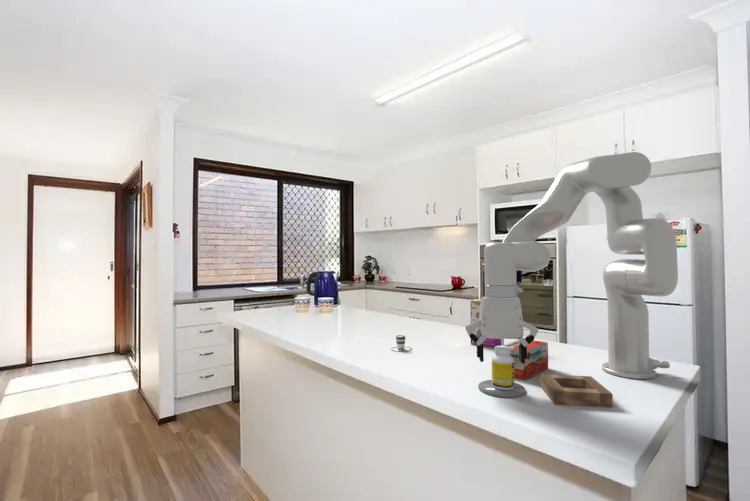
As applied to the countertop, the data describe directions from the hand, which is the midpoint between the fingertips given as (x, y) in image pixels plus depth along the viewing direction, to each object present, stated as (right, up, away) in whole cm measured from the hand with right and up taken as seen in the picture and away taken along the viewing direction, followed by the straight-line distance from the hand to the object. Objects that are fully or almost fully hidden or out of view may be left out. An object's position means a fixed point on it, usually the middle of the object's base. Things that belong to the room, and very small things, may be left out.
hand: (501, 361), depth 95 cm
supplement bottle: (0, -7, 0) cm, 7 cm away
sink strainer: (-22, -8, +41) cm, 47 cm away
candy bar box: (+10, -8, +46) cm, 48 cm away
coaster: (0, -7, 0) cm, 7 cm away
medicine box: (+11, -8, +15) cm, 20 cm away
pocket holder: (+15, -7, -5) cm, 17 cm away
